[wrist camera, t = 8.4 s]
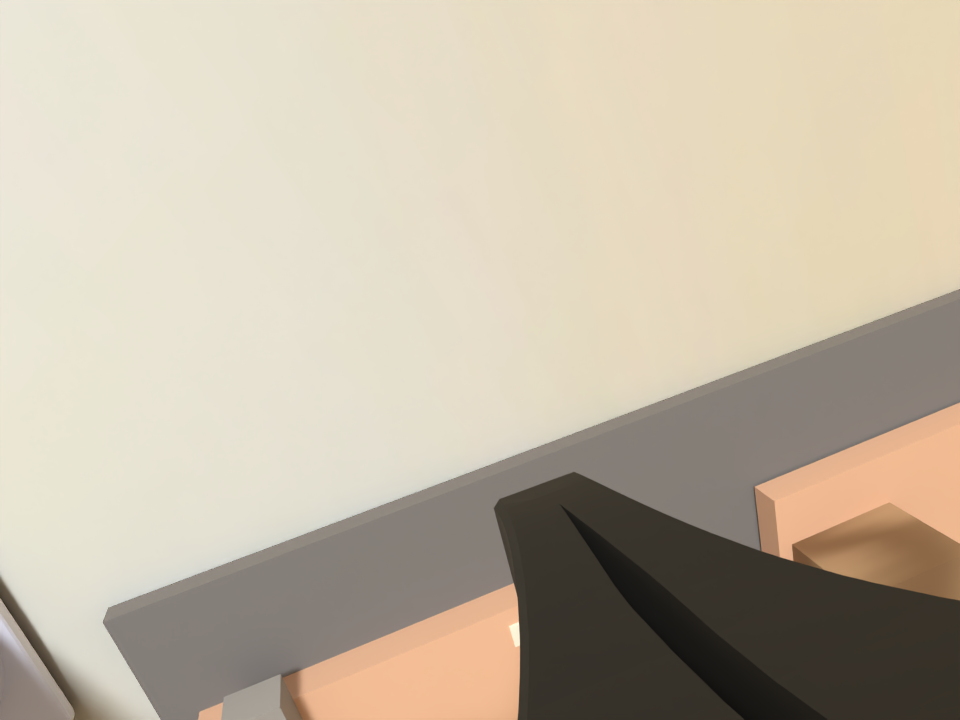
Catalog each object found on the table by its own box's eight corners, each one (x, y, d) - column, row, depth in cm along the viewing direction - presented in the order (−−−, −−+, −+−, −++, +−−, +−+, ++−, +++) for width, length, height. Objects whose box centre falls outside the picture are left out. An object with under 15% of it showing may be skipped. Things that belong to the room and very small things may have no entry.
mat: (322, 972, 25) (323, 991, 24) (108, 607, 18) (102, 622, 18) (965, 656, 30) (978, 666, 29) (977, 283, 23) (994, 285, 23)
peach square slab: (777, 696, 26) (858, 786, 22) (754, 486, 22) (845, 553, 19) (980, 599, 28) (1087, 668, 24) (989, 390, 24) (1115, 433, 20)
